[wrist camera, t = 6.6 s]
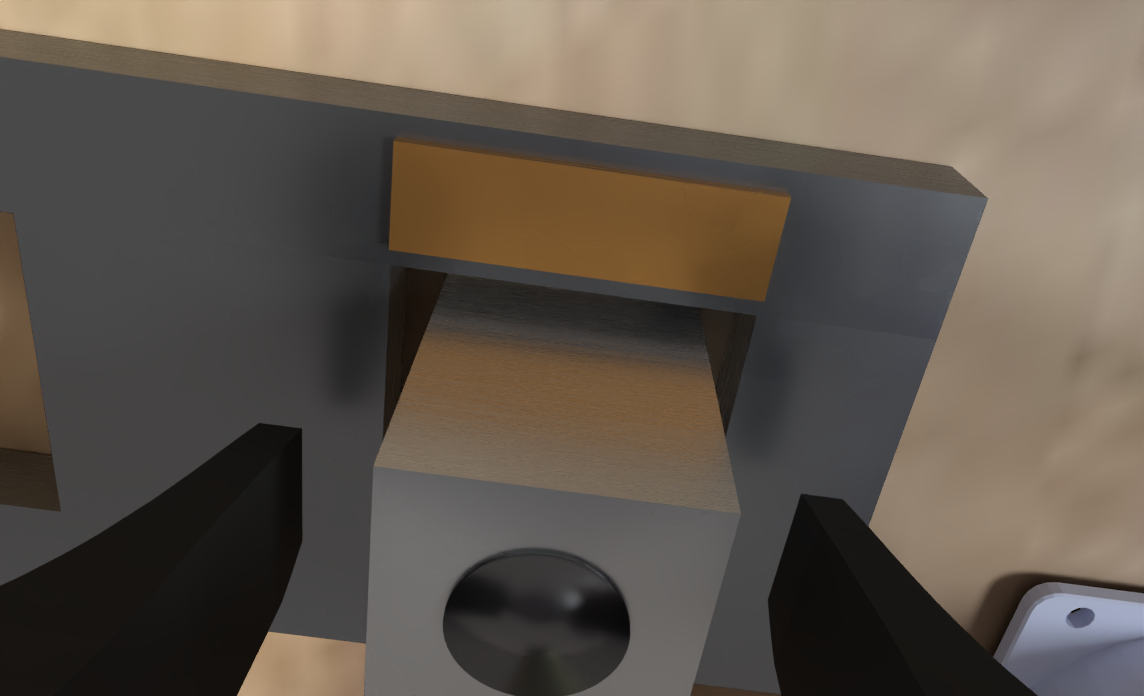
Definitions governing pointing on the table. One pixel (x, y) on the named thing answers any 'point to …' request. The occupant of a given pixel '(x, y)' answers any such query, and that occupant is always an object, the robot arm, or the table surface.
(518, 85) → the table surface
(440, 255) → the rail
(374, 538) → the nut block
